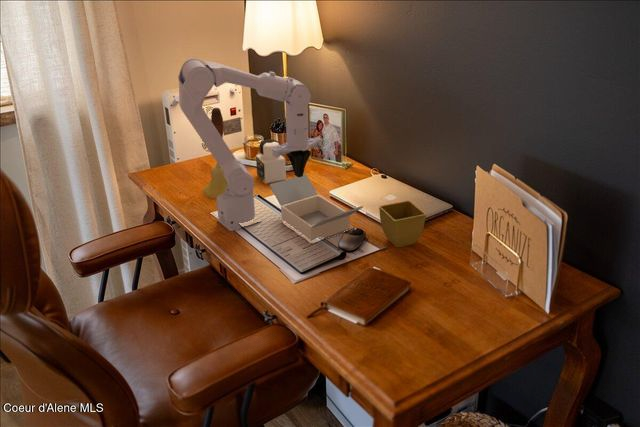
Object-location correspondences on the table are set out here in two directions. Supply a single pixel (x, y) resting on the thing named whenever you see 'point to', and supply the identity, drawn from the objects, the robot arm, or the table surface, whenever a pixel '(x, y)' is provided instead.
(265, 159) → the medicine bottle
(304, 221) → the storage box
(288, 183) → the far flap
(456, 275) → the table surface
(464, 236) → the table surface
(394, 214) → the flower pot
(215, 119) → the handbell
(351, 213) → the near flap
